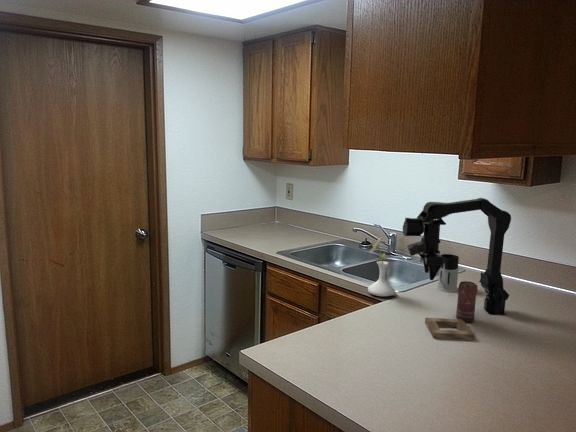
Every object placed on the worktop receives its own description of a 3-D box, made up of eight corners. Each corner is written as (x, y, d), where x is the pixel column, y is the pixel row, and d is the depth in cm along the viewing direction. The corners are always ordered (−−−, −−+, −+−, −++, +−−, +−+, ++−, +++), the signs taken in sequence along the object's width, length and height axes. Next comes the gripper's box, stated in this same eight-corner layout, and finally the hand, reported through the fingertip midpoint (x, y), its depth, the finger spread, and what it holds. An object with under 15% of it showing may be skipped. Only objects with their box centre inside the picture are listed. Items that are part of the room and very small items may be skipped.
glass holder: (460, 289, 205) (463, 256, 202) (448, 297, 194) (451, 262, 191) (441, 284, 210) (443, 252, 208) (428, 292, 199) (430, 258, 197)
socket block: (461, 324, 165) (462, 319, 165) (473, 340, 153) (474, 334, 152) (424, 322, 166) (425, 317, 166) (433, 338, 154) (433, 332, 153)
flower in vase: (377, 288, 204) (380, 232, 199) (400, 294, 196) (403, 237, 191) (359, 294, 195) (362, 236, 190) (382, 302, 187) (386, 241, 182)
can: (476, 324, 166) (479, 286, 164) (457, 322, 167) (460, 285, 165) (472, 317, 172) (476, 281, 170) (454, 316, 173) (457, 280, 171)
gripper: (405, 230, 183) (403, 268, 185) (413, 241, 164) (411, 283, 167) (434, 231, 182) (432, 269, 184) (445, 241, 163) (443, 284, 166)
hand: (428, 276), depth 175 cm, fingers open, 9 cm apart
